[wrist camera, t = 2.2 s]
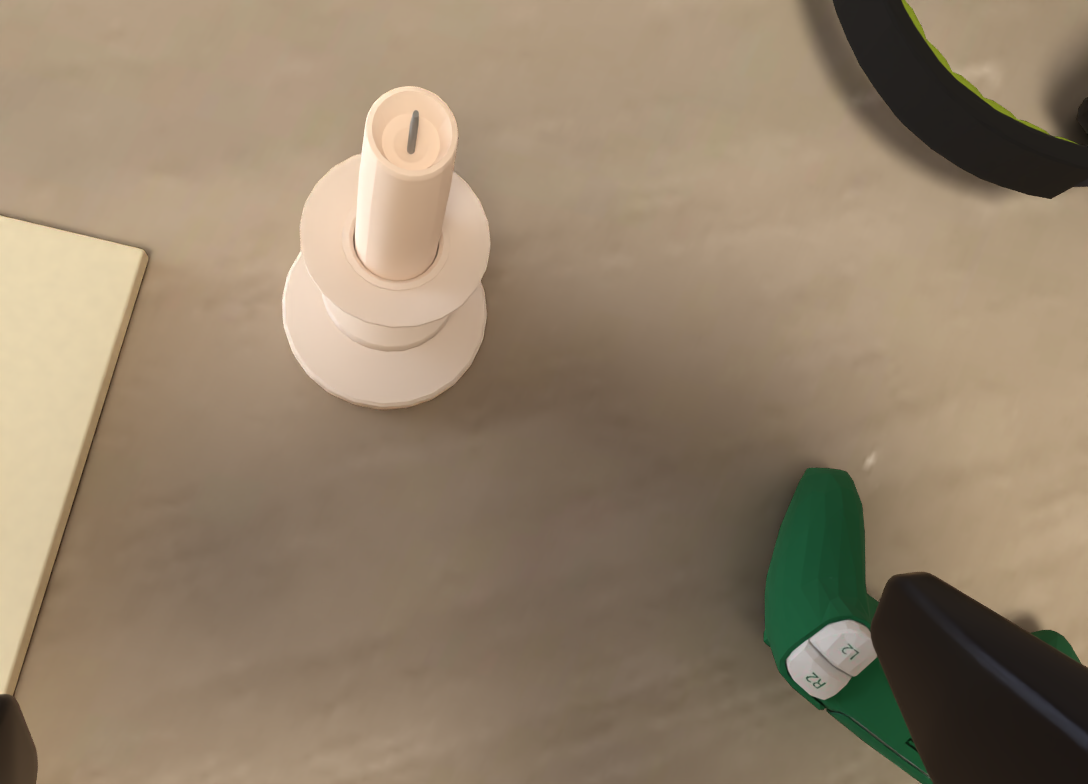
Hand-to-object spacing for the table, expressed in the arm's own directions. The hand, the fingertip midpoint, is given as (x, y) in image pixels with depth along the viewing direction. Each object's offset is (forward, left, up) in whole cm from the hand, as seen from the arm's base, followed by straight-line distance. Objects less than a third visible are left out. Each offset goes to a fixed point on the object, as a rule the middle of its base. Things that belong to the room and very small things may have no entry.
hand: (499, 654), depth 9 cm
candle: (+7, +2, -13) cm, 16 cm away
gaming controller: (+1, -13, -14) cm, 19 cm away
